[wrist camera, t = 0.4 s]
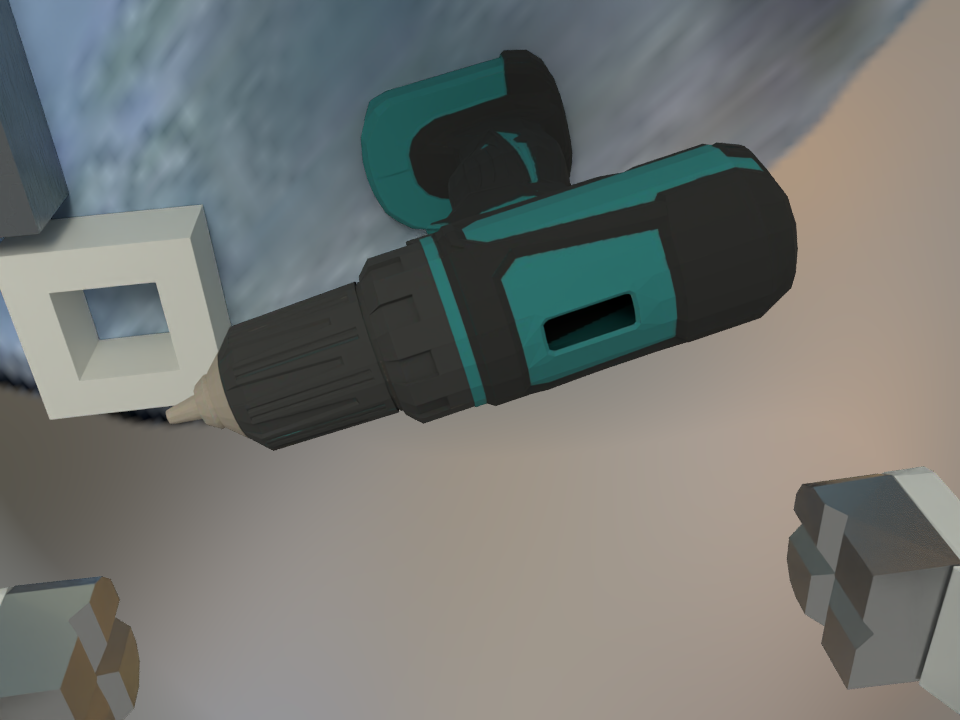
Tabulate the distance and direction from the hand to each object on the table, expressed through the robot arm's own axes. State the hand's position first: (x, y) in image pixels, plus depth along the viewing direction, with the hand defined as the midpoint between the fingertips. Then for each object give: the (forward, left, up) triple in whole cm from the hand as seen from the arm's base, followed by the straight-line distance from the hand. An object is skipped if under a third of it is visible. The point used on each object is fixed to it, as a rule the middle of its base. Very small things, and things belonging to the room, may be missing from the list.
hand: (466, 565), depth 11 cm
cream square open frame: (+18, -18, -46) cm, 52 cm away
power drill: (+10, +2, -46) cm, 47 cm away
